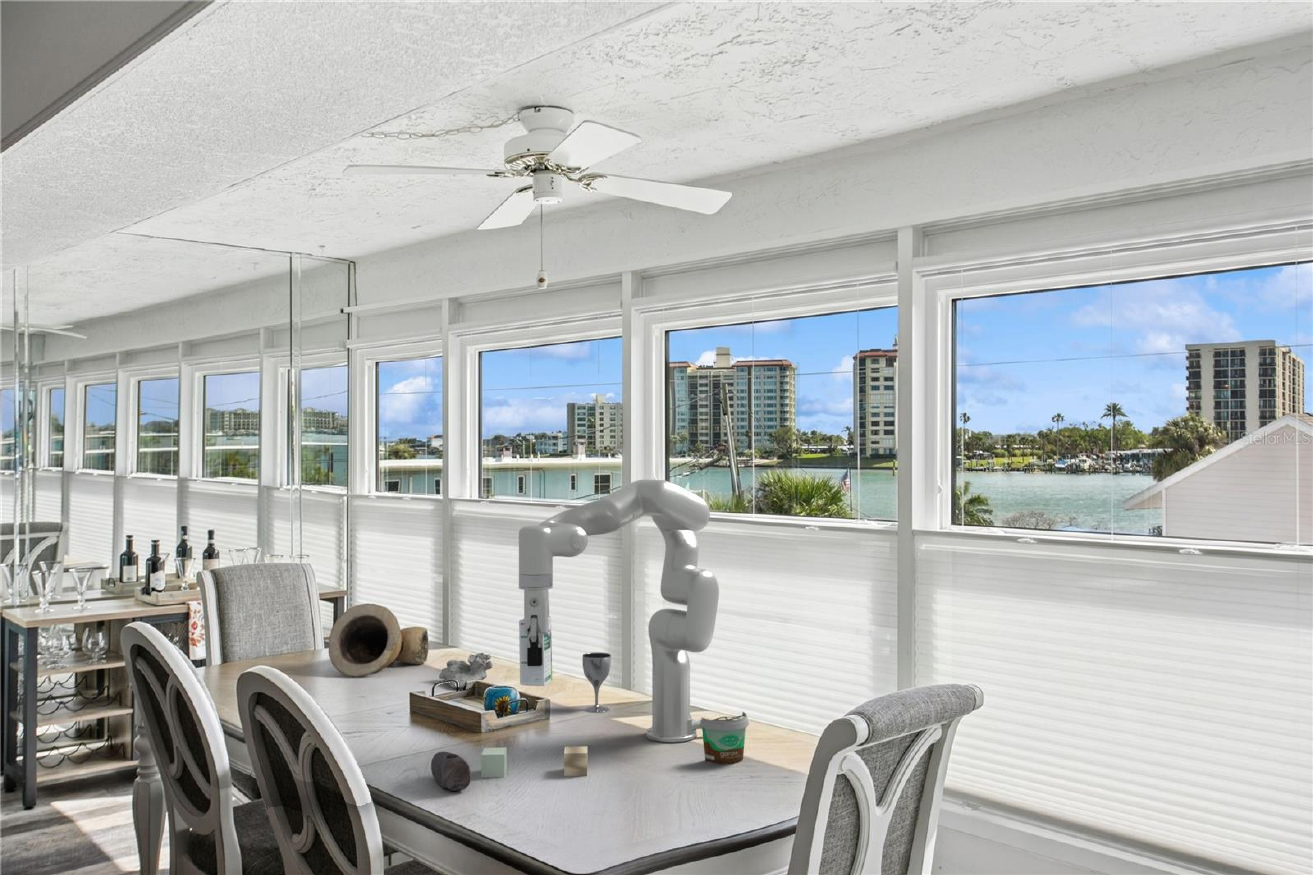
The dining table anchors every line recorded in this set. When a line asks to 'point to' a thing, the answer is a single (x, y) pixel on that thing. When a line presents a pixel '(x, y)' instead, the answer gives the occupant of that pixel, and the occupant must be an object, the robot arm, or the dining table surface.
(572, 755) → the birch cube
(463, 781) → the perforated stone tool
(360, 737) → the dining table surface
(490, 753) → the sage cube
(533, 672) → the syrup box
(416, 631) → the footed stone vessel
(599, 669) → the wine glass
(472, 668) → the coral
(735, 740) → the food container
